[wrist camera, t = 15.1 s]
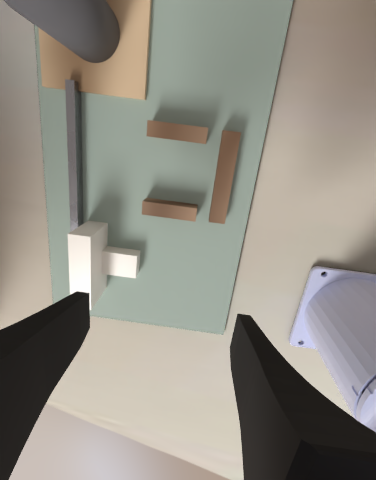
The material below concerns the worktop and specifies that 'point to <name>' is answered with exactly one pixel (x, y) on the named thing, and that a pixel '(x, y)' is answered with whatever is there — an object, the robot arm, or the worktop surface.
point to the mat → (170, 160)
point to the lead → (75, 25)
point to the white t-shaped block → (97, 260)
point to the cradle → (222, 175)
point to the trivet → (112, 70)
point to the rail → (74, 152)
